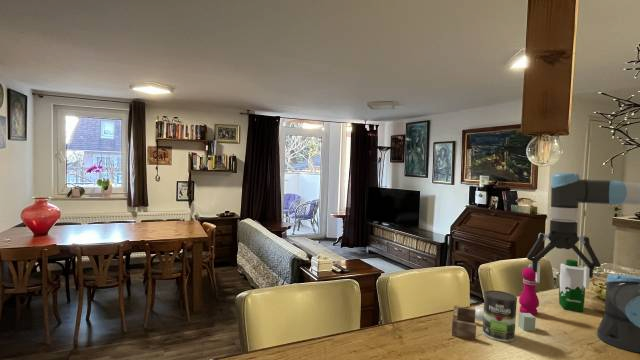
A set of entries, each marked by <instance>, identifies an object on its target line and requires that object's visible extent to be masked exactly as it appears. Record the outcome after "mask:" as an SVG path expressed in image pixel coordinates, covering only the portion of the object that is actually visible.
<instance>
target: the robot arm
mask: <svg viewBox="0 0 640 360" xmlns="http://www.w3.org/2000/svg"><path fill="white" fill-rule="evenodd" d="M550 195H551V196H550V219H551V220H550V221H549V233H548V234H545V233H542V232H539V233H538V235H537V239H536V241H535V243H534V244H533V246H532V247H531V248H530V250H529V252H528V253H527V255H526V259H527V260H528V261H531V262H532V270H533V272H536V282H537V284H540V280H541V279H540V277H541V263H540V262H539V261H540V260H541V259H543V258H544V257H545V256H547V254H549V252H551V251H552V250H554V249H555V248H556V249H560V250H562V249H564V250H570V249H572V250H573V251H574V253H576V254H577V256H578V257H579V259H581V260H582V261H583V262H584V263H585V266H583V268H584V282H583V286H584V287H585V290H586V289H588V290H589V288H590V279H593V277H594V269H595V268H600V267H601V263H600V260H599V259H598V257H597V255H596V253H595V251H594V250H593V248H592V246H591V243H590V238H589V236H585V235H583V236H578V226H579V225H578V222H577V221H578V220H579V204H599V205H600V204H601V205H630V206H638V207H639V206H640V182H628V181H626V182H625V181H621V180H612V179H610V180H609V179H608V180H607V179H606V180H605V179H603V180H602V179H601V180H600V179H586V178H584V179H581V177H580V174H578V173H564V172H559V173H554V174H553V175H552V178H551V185H550ZM546 239H548V241H549V242H548V244H547V245H546V246H545V247H544V248H542V250H540V251H539V252H538V250H539V248H540V247H541V245H543V242H544V241H546ZM578 242H580V244H583V246H584V248H585V251H587V254H588V256H589V258H590V259H591V261H592V262H591V261H590V260H589V259H588V257H586V256H585V255H584V253H583V252H582V251H581V250H580V249H579V247H578V246H577V243H578ZM537 252H538V253H537ZM536 253H537V254H536ZM604 298H605V303H604V315H603V317H602V320H600V323H599V325H598V327H597V329H596V336H597V338H598V339H599V340H601V341H602V342H603V343H606V344H608V345H610V346H612V347H615V348H618V349H622V350H625V351H630V352H635V353H640V276H635V275H631V274H622V273H621V274H620V273H609V274H608V275H607V277H606V282H605V297H604Z"/></svg>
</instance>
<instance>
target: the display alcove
mask: <svg viewBox="0 0 640 360" xmlns="http://www.w3.org/2000/svg"><path fill="white" fill-rule="evenodd" d="M451 324H452V326H451V327H452V328H451V336H452V337H458V338H463V339H468V340H472V341H473V340H474V341H476V339H477V338H476V337H477V332H476V331H477V323H476V318H475V308H471V307H464V306H459V305H454V306H453V313H452V323H451Z"/></svg>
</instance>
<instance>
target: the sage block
mask: <svg viewBox="0 0 640 360" xmlns="http://www.w3.org/2000/svg"><path fill="white" fill-rule="evenodd" d="M517 319H518V322H517V327H518V328H520V329H521V330H522V329H523V330H522V331H524V332H525V331H526V332H535V331H536V319H537V318H536V317H535V315H534V316H533V315H531V314H530V313H521V312H518V318H517Z"/></svg>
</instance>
